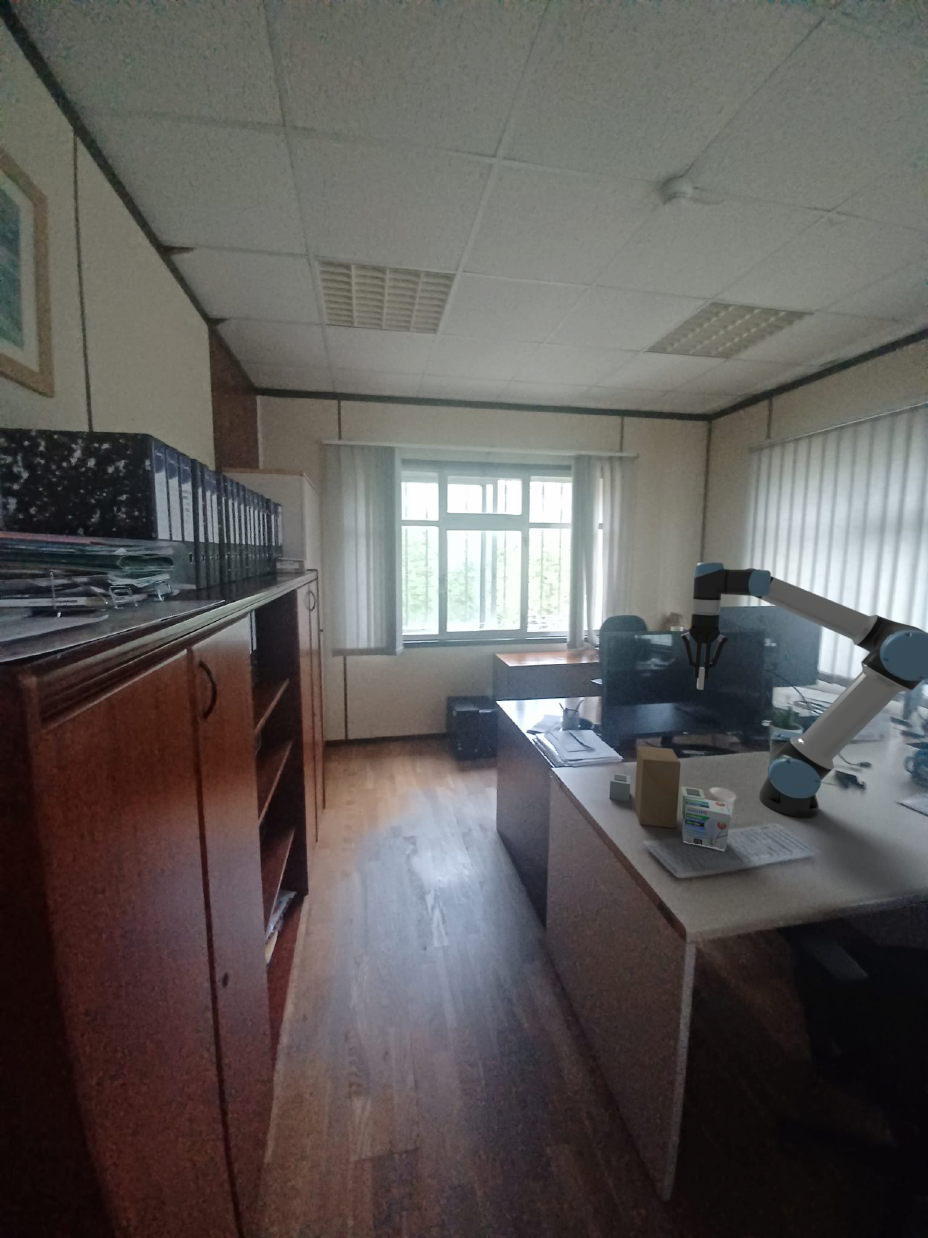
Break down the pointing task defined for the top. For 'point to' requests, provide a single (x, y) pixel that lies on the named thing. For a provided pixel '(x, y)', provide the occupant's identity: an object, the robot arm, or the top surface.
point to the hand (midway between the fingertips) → (699, 688)
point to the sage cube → (692, 793)
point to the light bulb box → (705, 822)
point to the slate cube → (620, 787)
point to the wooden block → (657, 786)
